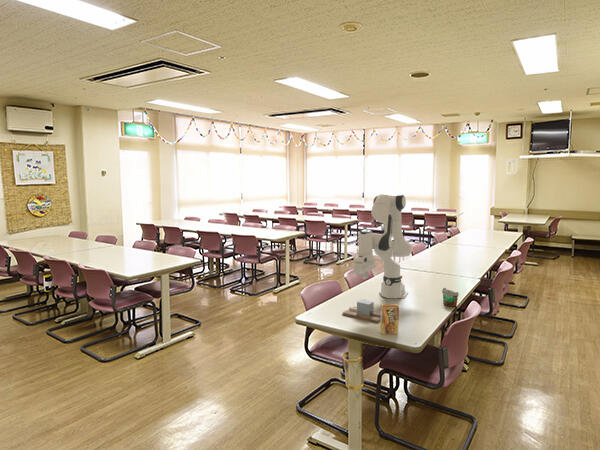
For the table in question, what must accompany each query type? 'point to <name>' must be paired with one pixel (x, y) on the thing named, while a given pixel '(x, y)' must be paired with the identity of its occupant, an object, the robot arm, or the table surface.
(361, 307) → the block
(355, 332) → the table surface
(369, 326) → the table surface
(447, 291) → the food container
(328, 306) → the table surface
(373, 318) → the rail board
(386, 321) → the candy box
